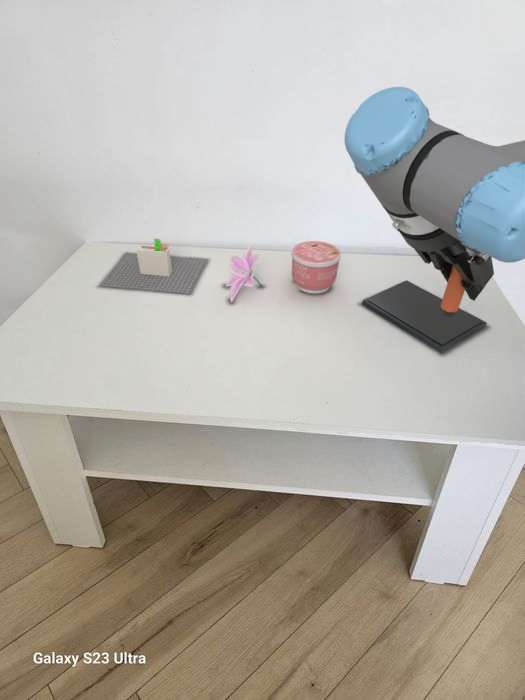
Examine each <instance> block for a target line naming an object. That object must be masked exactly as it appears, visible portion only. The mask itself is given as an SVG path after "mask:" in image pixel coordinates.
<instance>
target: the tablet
mask: <svg viewBox="0 0 525 700" xmlns="http://www.w3.org/2000/svg"><path fill="white" fill-rule="evenodd" d="M442 299H443V298H442V297H439V296H437V295H435V294H434V293H432V292H430V291H428V290H426V289H424V288H423V287H421V286H419V285H416V284H415V283H414V282H411V281H409V280H407V279H406V280H404V281H402V282H399V283H398V284H395V285H393V286H391V287H388V288H387V289H384V290H381V291H380V292H377V293H375V294H373V295H371V296H369V297H367V298H364V299H362V301H361V305H363V306H364V307H366V308H367V309H369V310H371V311H372V312H374V313H375V314H378V315H379V316H380V317H382V318H384V319H386V321H389V322H390V323H392V324H394V325H395V326H397V327H398V328H400V329H402V330H403V331H405V332H406V333H408V334H410V335H411V336H413V337H414V338H416V339H417V340H420V341H421V342H423V343H424V344H426V345H428V346H429V347H430V348H433V349H434V350H436V351H437V352H439V353H440V354H442V353H444V352H446V351H448V350H449V349H451V348H453V347H454V346H456V345H457V344H459V343H461V342H462V341H464V340H466V339H467V338H469V337H471V336H472V335H474V334H476V333H477V332H479V331H481V330H483V329H484V328H486V327H487V324H488V322H487V321H484V320H483V319H481V318H479V317H477V316H475V315H473V314H472V313H470V312H468V311H466V310H464V309H462V308H460V307H459V309H458V311H456V313H455V315H454V316H453V317H447V316H444V315H442V314H441V312H440V310H441V302H442Z"/></svg>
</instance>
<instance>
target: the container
mask: <svg viewBox="0 0 525 700" xmlns="http://www.w3.org/2000/svg"><path fill="white" fill-rule="evenodd" d="M290 252H291V253H290V254H291V276H292V279H293V282H294V283H295V284H296V287H297V288H298V289H299V290H300V291H302V292H305V293H308V294H323V293H325V292H327V291H328V290H330V288H331V287H332V285H333V284H334V283H335V281H336V280H337V276H338V269H339V264H340V260H341V258H342V252H341V250H340V248H338V247H337V246H336V245H334V244H331V243H330V242H326V241H321V240H320V241H319V240H307V241H302V242H300V243H297V244H295V245H294V246H293V247H292V248H291V251H290Z"/></svg>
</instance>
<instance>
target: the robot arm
mask: <svg viewBox="0 0 525 700" xmlns="http://www.w3.org/2000/svg"><path fill="white" fill-rule="evenodd" d="M344 146H345V150H346V152H347V153H348V155H349V157H350V159H351V161H352V163H353V165H354V169H355V171H356V173H358V174H360V176H361V177H362V178H363V180H364V181H365V183H366V184H367V186H368V187H369V188H370V190H371V192H372V193H373V195H374V196H375V198H376V199H377V200H378V202H379V203H380V205H381V206H382V208H383V209H384V210H385V212H386V213H387V215H388V217H389V218H390V219H391V221H392V224H391V226H392V227H393V228H394V229H395V230H396V231H397V232H398V233H399V234H400V235H401V237H402V239H403V240H404V242H405V243H406V244H407V245H408V246H409V247H411V248H412V249H414V251H415V252H416V254H418V256H419V257H420V259H421V260H422V261H423V262H424V263H425V264H428V265H430V264H431V263H432V265H433V267H434V268H435V270H437V271H440V273H441V275H442V276H443V278H444V279H445V281H446V284H447V283H448V280H449V276H450V273H451V270H452V267H453V266H454V267H455V268H456V270H457V271H458V273H459V274H460V275H461V277H462V278H463V279H462V281H461V283H462V287H463V288H465V291H464V292H466V295H467V296H468V298H469V300H472V301H474V302H475V301H476V299H477V298H478V297H479V296H480V295H481V293H482V292H483V290H484V289H485V287H486V286H487V284H489V282H490V280H492V278H493V276H494V275H495V270H494V263H493V259H494V260H496V261H498V262H502V263H508V264H509V263H517V262H520V261H522V260H525V139H524V140H520V141H515V142H509V143H507V144H502V145H491V144H487V143H485V142H482V141H479V140H477V139H474V138H471V137H468V136H466V135H465V134H463V133H460V132H458V131H456V130H453V129H451V128H449V127H446V126H444V125H441V124H439V123H437V122H435V121H433V120H432V119H431V117H430V111H429V108H428V107H427V106H426V104H425V103H424V102H423V100H422V99H421V97H420V95H419V94H418V93H417V92H416V91H414V90H413V89H411V88H409V87H405V86H391V87H387V88H384V89H381V90H379V91H377V92H375V93H373V94H371V95H370V96H368V97H367V98H366V99H365V100H363V102H361V103H360V104H359V106H358V108H357V109H356V110H355V111H354V113H353V114H351V117H350V118H349V120H348V122H347V124H346V127H345V131H344ZM492 258H493V259H492Z"/></svg>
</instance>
